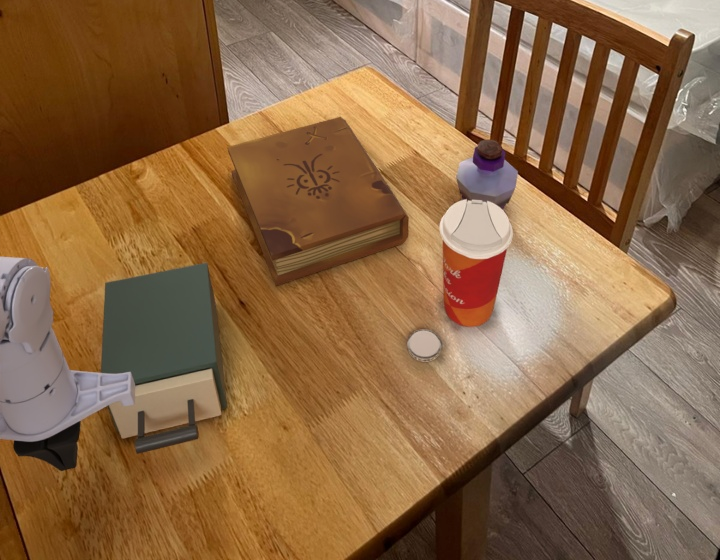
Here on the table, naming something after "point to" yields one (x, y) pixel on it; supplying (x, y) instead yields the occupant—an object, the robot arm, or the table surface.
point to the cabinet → (162, 327)
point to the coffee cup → (473, 259)
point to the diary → (315, 199)
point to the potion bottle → (487, 175)
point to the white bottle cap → (424, 345)
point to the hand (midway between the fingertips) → (69, 458)
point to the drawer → (168, 409)
